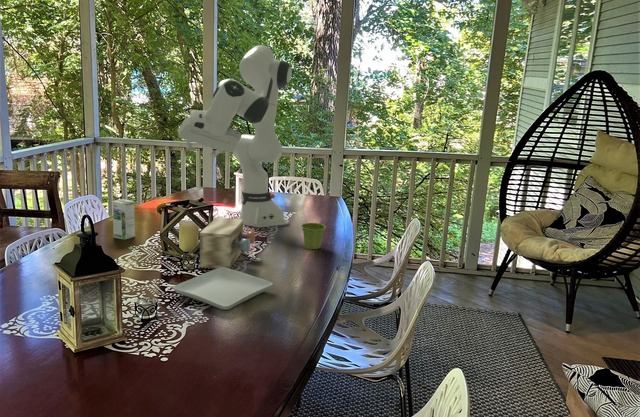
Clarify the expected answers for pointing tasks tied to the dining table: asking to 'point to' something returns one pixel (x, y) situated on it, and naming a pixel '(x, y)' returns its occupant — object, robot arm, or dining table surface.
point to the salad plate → (223, 287)
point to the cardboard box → (220, 243)
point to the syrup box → (123, 219)
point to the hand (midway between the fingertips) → (200, 152)
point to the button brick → (248, 236)
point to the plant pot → (313, 235)
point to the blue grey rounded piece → (242, 245)
